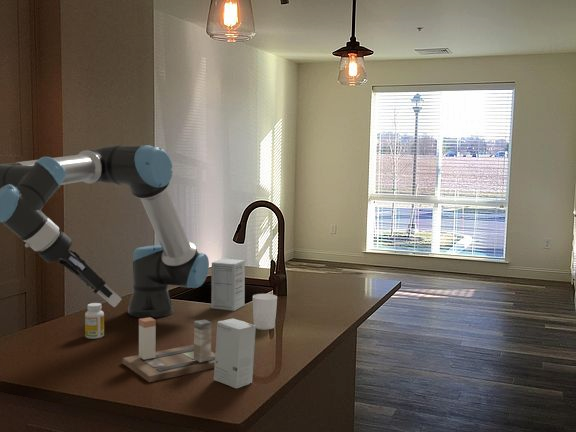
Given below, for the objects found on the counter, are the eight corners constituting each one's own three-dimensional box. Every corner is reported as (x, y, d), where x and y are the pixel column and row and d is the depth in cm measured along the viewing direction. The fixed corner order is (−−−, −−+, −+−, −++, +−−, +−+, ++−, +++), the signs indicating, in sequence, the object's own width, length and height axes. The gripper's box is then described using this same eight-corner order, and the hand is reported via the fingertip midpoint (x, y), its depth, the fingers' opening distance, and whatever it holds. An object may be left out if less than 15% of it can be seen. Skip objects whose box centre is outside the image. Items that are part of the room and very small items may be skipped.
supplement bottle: (98, 332, 190) (98, 301, 189) (107, 336, 186) (107, 304, 185) (81, 335, 186) (81, 304, 185) (90, 340, 182) (90, 307, 181)
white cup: (273, 331, 196) (274, 300, 195) (249, 329, 197) (249, 298, 196) (278, 324, 204) (279, 294, 203) (255, 322, 205) (256, 293, 204)
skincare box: (213, 380, 153) (214, 321, 151) (230, 374, 157) (231, 317, 156) (237, 389, 147) (238, 328, 146) (255, 383, 152) (256, 323, 150)
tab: (144, 359, 160) (144, 321, 159) (138, 356, 163) (138, 318, 162) (155, 357, 162) (155, 320, 161) (150, 354, 165) (150, 317, 164)
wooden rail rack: (149, 382, 150) (149, 333, 149) (122, 363, 163) (122, 318, 162) (226, 365, 164) (227, 320, 163) (196, 349, 176) (197, 307, 175)
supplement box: (245, 305, 228) (246, 260, 226) (234, 311, 219) (235, 264, 217) (221, 302, 231) (222, 257, 229) (210, 308, 222) (211, 261, 220)
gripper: (28, 249, 148) (97, 308, 160) (45, 257, 138) (117, 320, 150) (51, 225, 151) (117, 286, 162) (69, 232, 140) (138, 296, 152)
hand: (117, 302), depth 156 cm, fingers closed
